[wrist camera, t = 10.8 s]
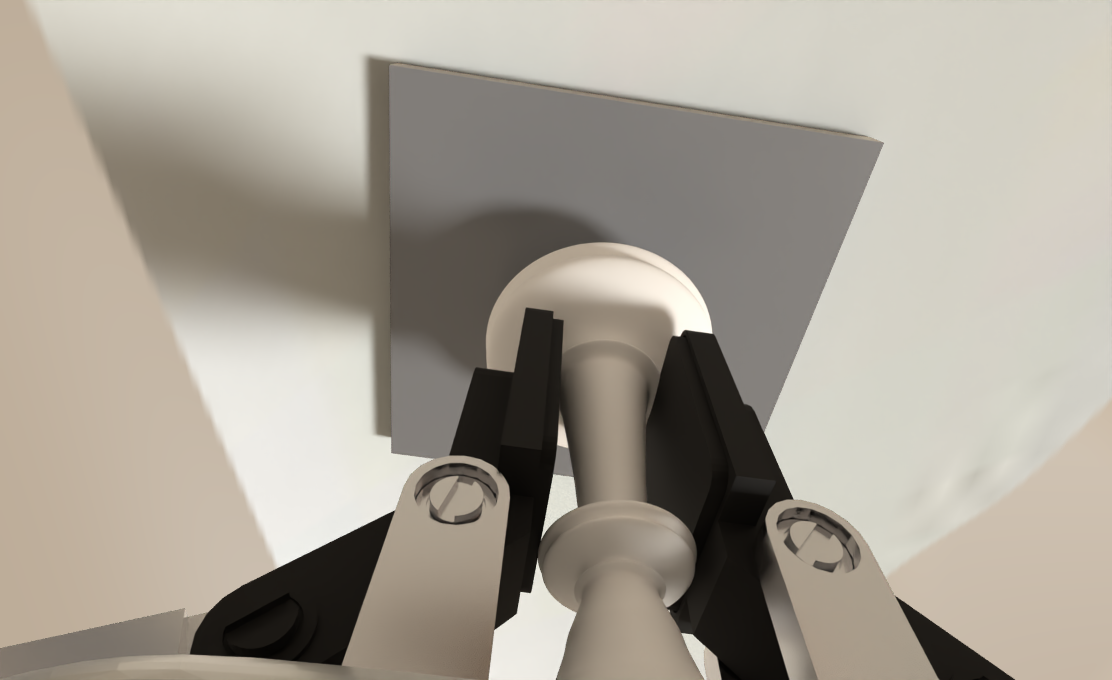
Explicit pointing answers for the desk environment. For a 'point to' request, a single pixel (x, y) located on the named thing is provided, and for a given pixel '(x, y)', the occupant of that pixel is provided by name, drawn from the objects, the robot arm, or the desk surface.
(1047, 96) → the desk surface
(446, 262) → the coaster
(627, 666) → the chess piece
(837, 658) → the robot arm
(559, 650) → the desk surface
